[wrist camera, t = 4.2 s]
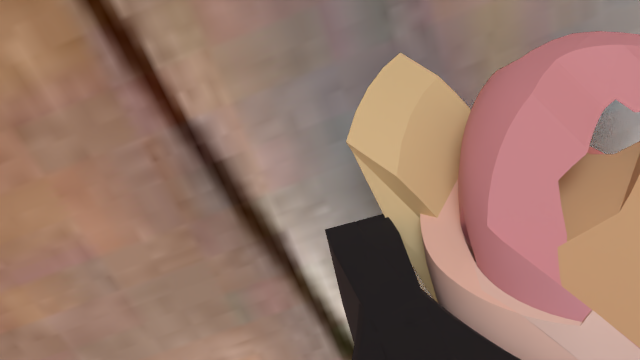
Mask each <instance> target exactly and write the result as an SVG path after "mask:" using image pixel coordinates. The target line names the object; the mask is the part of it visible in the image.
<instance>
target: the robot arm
mask: <svg viewBox="0 0 640 360" xmlns="http://www.w3.org/2000/svg"><path fill="white" fill-rule="evenodd" d="M325 231H326V235H327V240H328V244H329V248H330V252H331V256H332V261H333V265H334V269H335V273H336V277H337V282H338V286H339V290H340V294H341V299H342V303H343V306H344V310H345V313H346V317H347V320H348V324H349V327H350V331H351V334H352V337H353V341H354V344H355V345H354V351H353V356H352V360H521V359H519V358H517V357H516V356H514V355H512V354H510V353H509V352H507V351H505V350H504V349H502V348H501V347H499V346H498V345H496V344H494V343H493V342H491V341H490V340H488V339H487V338H485V337H484V336H482V335H481V334H479V333H478V332H476V331H475V330H473V329H472V328H470V327H469V326H468V325H466V324H465V323H463V322H462V321H461V320H459V319H458V318H457V317H455V316H454V315H453V314H451V313H450V312H449V311H447V310H446V309H445V308H444V307H442V306H441V305H440V304H439V303H437V302H436V301H435V300H434V299H433V298H431V297H430V296H429V295H428V294H427V293H425V292H424V291H423V290H422V289H421V288H420V286H419V283H418V280H417V278H416V275H415V272H414V270H413V267H412V264H411V262H410V259H409V256H408V254H407V251H406V249H405V246H404V243H403V241H402V238H401V236H400V233H399V231H398V230H397V228H396V227H395V225H394V224H393V222H392V221H391V219H390V218H389V217H386V218H385V216H384V214H382V215H378V216H374V217H371V218H367V219H363V220H359V221H357V222H352V223H348V224H344V225H341V226H337V227H333V228H329V229H326V230H325Z"/></svg>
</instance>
